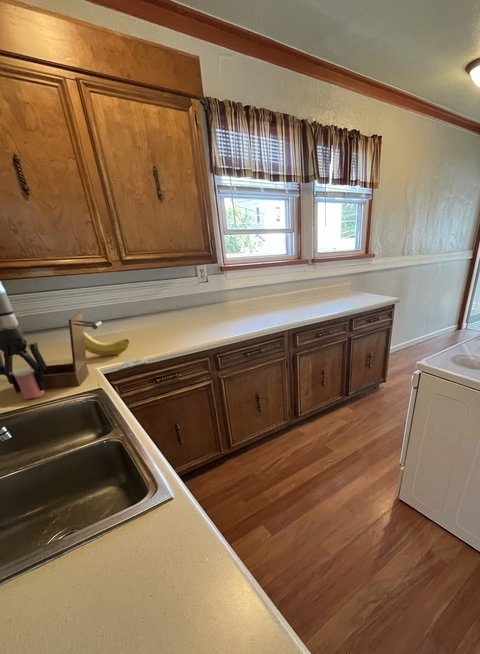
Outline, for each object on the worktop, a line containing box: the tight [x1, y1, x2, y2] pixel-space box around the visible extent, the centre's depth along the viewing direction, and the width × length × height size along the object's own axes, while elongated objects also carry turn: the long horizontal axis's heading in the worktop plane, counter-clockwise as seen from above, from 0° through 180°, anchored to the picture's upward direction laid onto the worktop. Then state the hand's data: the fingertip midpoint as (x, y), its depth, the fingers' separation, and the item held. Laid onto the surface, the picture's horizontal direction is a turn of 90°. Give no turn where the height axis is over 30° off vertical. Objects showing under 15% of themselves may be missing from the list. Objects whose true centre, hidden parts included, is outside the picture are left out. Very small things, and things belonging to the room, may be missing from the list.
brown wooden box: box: [29, 361, 90, 390], centre depth 131 cm, size 20×13×6 cm, turn 105°
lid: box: [68, 312, 103, 372], centre depth 129 cm, size 20×13×8 cm
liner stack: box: [12, 368, 45, 399], centre depth 117 cm, size 6×6×9 cm
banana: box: [84, 331, 130, 357], centre depth 160 cm, size 23×6×20 cm, turn 111°
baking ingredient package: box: [119, 357, 149, 370], centre depth 152 cm, size 9×1×15 cm
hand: (31, 390), depth 119 cm, fingers open, 7 cm apart
